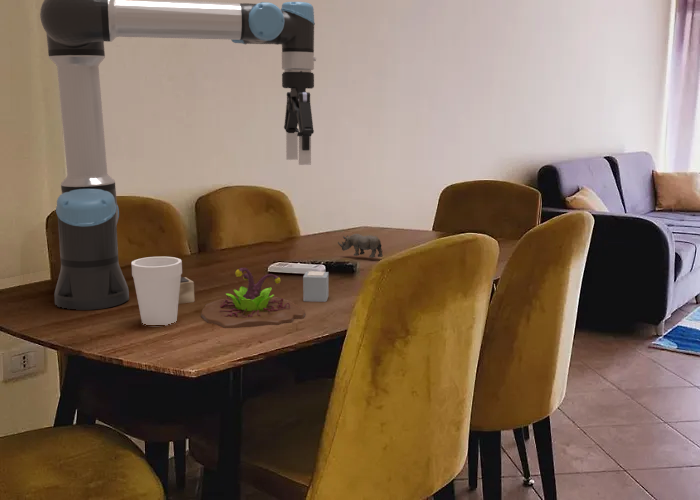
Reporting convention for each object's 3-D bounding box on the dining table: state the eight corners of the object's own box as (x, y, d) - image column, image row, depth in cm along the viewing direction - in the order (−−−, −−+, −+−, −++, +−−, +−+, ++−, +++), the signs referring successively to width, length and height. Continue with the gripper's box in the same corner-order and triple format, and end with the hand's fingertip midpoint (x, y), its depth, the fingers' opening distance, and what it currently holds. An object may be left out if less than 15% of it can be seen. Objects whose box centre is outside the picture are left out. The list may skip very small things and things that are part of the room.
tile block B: (303, 303, 165) (303, 275, 164) (306, 297, 170) (305, 270, 169) (326, 304, 165) (326, 276, 164) (328, 298, 170) (328, 270, 169)
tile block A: (172, 307, 162) (170, 283, 161) (164, 302, 166) (163, 278, 165) (194, 304, 165) (193, 280, 163) (186, 299, 169) (185, 275, 168)
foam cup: (162, 316, 155) (159, 254, 152) (194, 325, 150) (191, 260, 147) (124, 328, 147) (120, 262, 145) (156, 337, 142) (153, 269, 140)
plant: (188, 314, 158) (186, 261, 156) (275, 302, 168) (274, 252, 165) (222, 342, 141) (220, 283, 139) (316, 326, 151) (316, 271, 148)
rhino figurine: (341, 251, 220) (341, 230, 219) (384, 256, 214) (385, 235, 212) (334, 253, 216) (334, 232, 215) (378, 259, 210) (378, 237, 209)
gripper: (327, 70, 169) (326, 166, 173) (301, 72, 192) (301, 157, 196) (294, 69, 166) (294, 167, 171) (272, 72, 190) (272, 157, 194)
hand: (298, 162), depth 183 cm, fingers open, 13 cm apart
